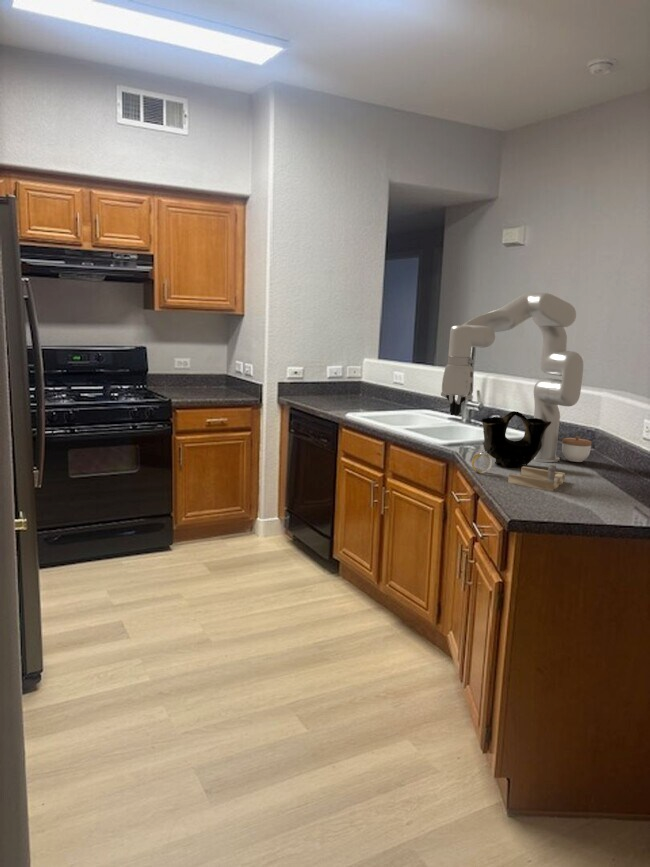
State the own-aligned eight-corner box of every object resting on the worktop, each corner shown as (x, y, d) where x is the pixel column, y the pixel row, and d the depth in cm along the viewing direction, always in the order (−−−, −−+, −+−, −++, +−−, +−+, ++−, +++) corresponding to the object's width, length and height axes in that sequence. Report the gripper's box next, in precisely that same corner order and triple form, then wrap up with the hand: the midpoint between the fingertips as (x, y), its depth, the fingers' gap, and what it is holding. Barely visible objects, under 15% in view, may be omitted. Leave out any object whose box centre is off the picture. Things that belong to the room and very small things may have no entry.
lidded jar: (592, 464, 245) (595, 440, 243) (562, 461, 247) (565, 437, 245) (586, 458, 255) (589, 435, 254) (558, 456, 257) (560, 432, 256)
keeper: (522, 474, 224) (524, 452, 222) (564, 481, 216) (566, 458, 215) (506, 485, 209) (508, 460, 207) (550, 493, 201) (553, 468, 200)
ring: (471, 474, 222) (473, 451, 220) (469, 471, 225) (471, 449, 223) (492, 474, 222) (494, 452, 220) (489, 472, 225) (491, 450, 223)
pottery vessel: (540, 463, 243) (545, 410, 240) (550, 470, 233) (556, 415, 229) (474, 460, 243) (478, 408, 239) (481, 467, 232) (486, 412, 228)
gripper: (484, 363, 221) (479, 416, 225) (442, 359, 229) (438, 411, 233) (476, 364, 215) (472, 418, 219) (434, 360, 223) (430, 413, 227)
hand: (454, 414), depth 226 cm, fingers closed
